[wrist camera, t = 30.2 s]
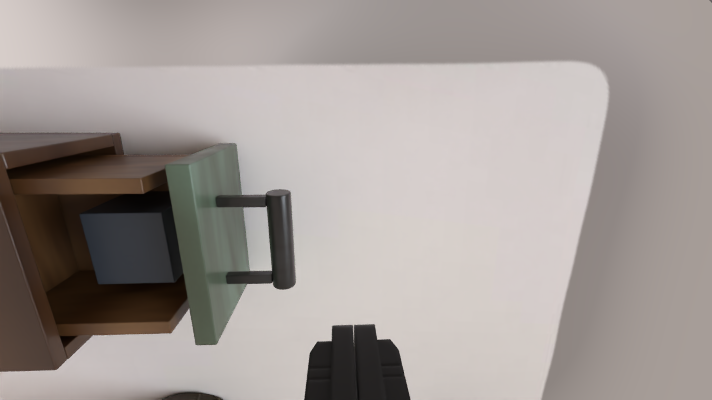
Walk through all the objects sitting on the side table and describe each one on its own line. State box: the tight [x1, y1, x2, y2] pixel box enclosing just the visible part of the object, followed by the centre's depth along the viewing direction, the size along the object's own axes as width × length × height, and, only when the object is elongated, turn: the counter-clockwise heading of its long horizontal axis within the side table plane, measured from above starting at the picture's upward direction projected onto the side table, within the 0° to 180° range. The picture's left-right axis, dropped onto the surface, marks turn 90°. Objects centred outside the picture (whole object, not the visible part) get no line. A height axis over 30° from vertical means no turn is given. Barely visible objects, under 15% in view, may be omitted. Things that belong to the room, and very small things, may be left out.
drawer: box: [6, 143, 296, 345], centre depth 20 cm, size 17×10×7 cm, turn 90°
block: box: [79, 191, 183, 284], centre depth 21 cm, size 4×4×4 cm
